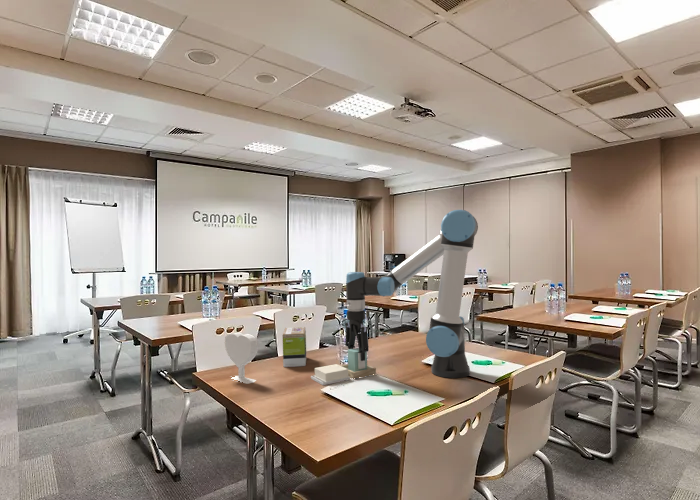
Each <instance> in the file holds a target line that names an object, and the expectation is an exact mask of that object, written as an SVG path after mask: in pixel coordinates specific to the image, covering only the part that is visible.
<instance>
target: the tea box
mask: <svg viewBox="0 0 700 500" xmlns="http://www.w3.org/2000/svg"><path fill="white" fill-rule="evenodd" d="M306 333H307V331H306V327H305V326H302V327H285V328H284V330H283V332H282V363H283V367H284V368H291V367H292V368H293V367H295V368H296V367H306V365H307V364H306V363H307V335H306Z"/></svg>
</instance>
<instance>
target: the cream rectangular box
mask: <svg viewBox="0 0 700 500" xmlns="http://www.w3.org/2000/svg"><path fill="white" fill-rule="evenodd" d="M310 379H311V380H312V381H314V382H316V383H318V384H320V385H321V386H327V385H331V384H336V383H340V381H341V382H345V381H344V380H346V381H349V380H348V379H350V380H351V378H350V377H349V376H348V369H347V368H344V367H342V365H340V364H337V363H335V364H330V365H329V364H328V365H325V366H319V367H314V374H313V375H310Z"/></svg>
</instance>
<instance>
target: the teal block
mask: <svg viewBox="0 0 700 500" xmlns="http://www.w3.org/2000/svg"><path fill="white" fill-rule="evenodd" d="M358 352H359V347H355V349H347V364H348V369H349V370H351V371H353V372H357V371H362V370H367V365H368V351H367V352H365V368H363V369H358Z"/></svg>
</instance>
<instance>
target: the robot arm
mask: <svg viewBox="0 0 700 500" xmlns="http://www.w3.org/2000/svg"><path fill="white" fill-rule="evenodd" d="M478 230H479V223H478V220H477V218H475V216H474V215H473V214H472V213H471V212H469V211H467V210H465V209H454V210H451V211H449V212H448V213H446V214H445V215H444V216H443V218H442V220H441V223H440V230H439V234H437V236H435V237H434V238H432V239H431V240H430V241H429V242H428V243H426V244H425V245H423V246H421V247H420V248H419V249H418V250H417V251H415V252H414V253H412V255H409V257H407V258H406V259H404V261H402V262H401V263H399V264H398V265H397V266H395V267H394V268H393V269H391V270H390V271H388V272H387V273H386V274H384V275H382V276H372V277H371V276H370V277H369V276H366V275H365V272H363V271H350V272H347V273H346V276H345V277H346V280H345V282H346V283H345V286H346V289H345V290H346V309H347V311H346V320H348V322H345V324H344V325H345V326H344V327H345V347H347V350H349V349H355V348H356V346H355V343H356V341H357V346H358V347H357V348H359V352H358V369H363V368H365V352H367V353H368V352H369V337H368V333H369V332H368V331H369V327H368V326H365V325H364V321H365V320H366V311H365V309H366V296H370V297H371V296H375V297H391V296H393V294H394V292H395V291H398V289H399V288H400V287H401V286H402V285H404V284H405V283H406V282H408V281H409V280H411V279H412V278H413V277H414V276H416V275H417V274H418V273H420V272H421V271H423V270H424V269H425V268H427V267H428V266H430V265H431V264H432V263H434V262H435V261H436V260H438V259H439V258H440V257H442V256H443V257H442V263H441V264H442V265H441V271H440V279H439V287H438V293H437V301H436V307H435V313H433V314H432V315H431V316H430V323H429V328H428V329H429V330H428V331H427V333H426V336H425V343H426V346H427V349H428V350H429V351H430V352H431V353H432V354H433V355H434V357H433V360H432V364H431V368H430V369H431V371H430V372H431V373H432V374H433V375H434V376H437V377H440V378H449V379H460V378H466V377H468V376H470V375H469V374H471V369H470V365H469V364H468V360H467V359H468V358H467V357H466V350H465V349H466V345H465V344H466V343H465V335H466V334H465V325H466V323H465V318H464V317H463V316H460V313H461V307H462V298H463V292H464V283H465V275H466V268H467V262H468V254H469V252H471V251H472V250H473V248H474V243H475V237H476V235H477V233H478Z"/></svg>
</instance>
